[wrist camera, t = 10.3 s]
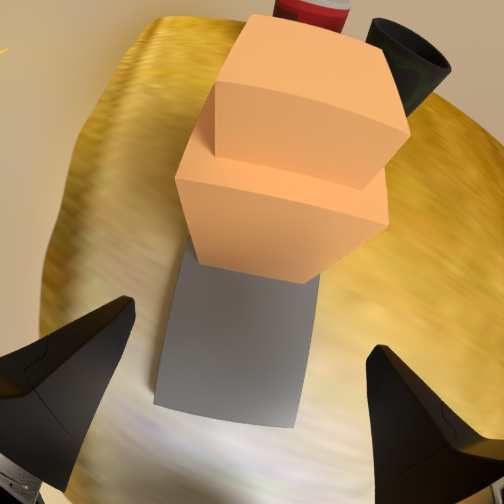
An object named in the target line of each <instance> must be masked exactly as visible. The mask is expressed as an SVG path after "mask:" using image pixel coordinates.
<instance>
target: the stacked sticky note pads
mask: <svg viewBox="0 0 504 504" xmlns="http://www.w3.org/2000/svg"><path fill="white" fill-rule="evenodd" d="M410 136H411V134H410V130H409V126H408V122H407V119H406V115H405V112H404V109H403V105H402V102H401V99H400V96H399V93H398V90H397V87H396V84H395V82H394V79H393V76H392V74H391V71H390V68H389V66H388V63H387V61H386V59H385V56H384V54H383V51H382V49H379V48H377V47H374V46H372V45H370V44H367V43H365V42H362V41H359V40H357V39H353V38H351V37H348V36H345V35H342V34H339V33H336V32H333V31H330V30H327V29H323V28H320V27H316V26H312V25H308V24H304V23H300V22H296V21H291V20H287V19H282V18H276V17H271V16H265V15H257V14H252V15H251V17H250V18H249V20H248V21H247V23H246V25H245V26H244V28H243V30H242V31H241V33H240V35H239V37H238V38H237V40H236V42H235V44H234V46H233V47H232V49H231V51H230V53H229V55H228V57H227V59H226V60H225V62H224V64H223V66H222V68H221V70H220V72H219V74H218V76H217V78H216V80H215V83H214V85H213V87H212V89H211V91H210V93H209V96H208V98H207V100H206V102H205V104H204V106H203V109H202V111H201V113H200V115H199V118H198V120H197V122H196V125H195V127H194V129H193V132H192V134H191V137H190V139H189V142H188V144H187V146H186V149H185V152H184V154H183V157H182V159H181V162H180V165H179V167H178V170H177V173H176V175H175V182H176V186H177V190H178V193H179V197H180V201H181V204H182V208H183V211H184V215H185V218H186V222H187V225H188V228H189V232H190V235H191V239H192V242H193V245H194V248H195V252H196V255H197V258H198V261H199V264H202V265H207V266H211V267H216V268H221V269H226V270H231V271H236V272H242V273H247V274H252V275H257V276H262V277H267V278H273V279H278V280H283V281H289V282H294V283H300V284H304V283H306V282H308V281H309V280H311V279H312V278H314V277H315V276H317V275H318V274H320V273H321V272H323V271H324V270H326V269H327V268H329V267H330V266H332V265H333V264H335V263H336V262H338V261H339V260H341V259H342V258H344V257H345V256H346V255H348V254H349V253H351V252H352V251H354V250H355V249H357V248H358V247H359V246H361V245H362V244H364V243H365V242H366V241H368V240H369V239H371V238H372V237H374V236H375V235H376V234H378V233H379V232H380V231H382V230H383V229H385V228H386V227H387V226H389V224H388V204H387V190H386V179H385V170H384V166H385V165H386V164H387V162H388V161H389V160H390V159H391V158H392V157H393V156H394V154H395V153H396V152H397V151H398V150H399V149H400V147H401V146H402V145H403V144H404V143H405V142H406V140H407V139H408V138H409V137H410Z"/></svg>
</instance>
